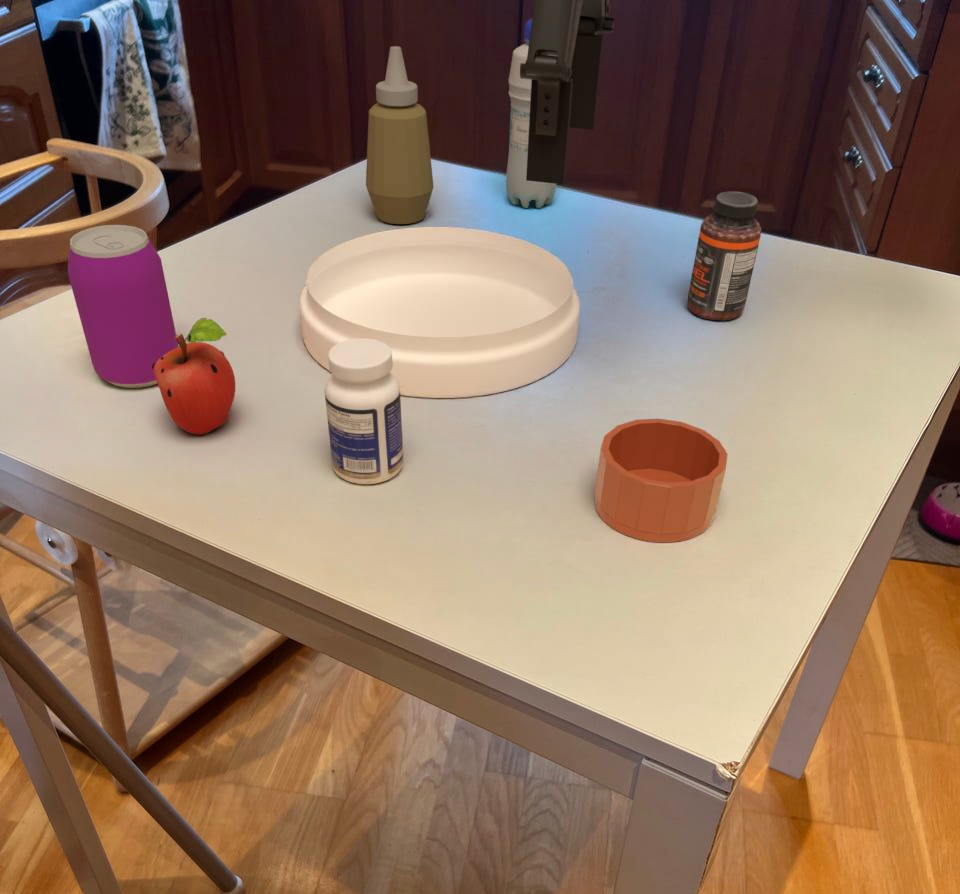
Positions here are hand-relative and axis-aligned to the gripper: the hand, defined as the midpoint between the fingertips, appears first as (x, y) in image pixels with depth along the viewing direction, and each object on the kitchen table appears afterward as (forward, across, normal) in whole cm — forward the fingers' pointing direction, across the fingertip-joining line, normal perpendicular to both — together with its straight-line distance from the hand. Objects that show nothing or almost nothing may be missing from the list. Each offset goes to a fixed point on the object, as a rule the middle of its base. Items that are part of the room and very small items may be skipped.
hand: (562, 152), depth 74 cm
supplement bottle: (+20, -21, +14) cm, 33 cm away
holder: (+20, +16, +12) cm, 28 cm away
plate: (+20, -8, -12) cm, 25 cm away
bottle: (+20, -46, -11) cm, 52 cm away
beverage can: (+20, +7, -36) cm, 42 cm away
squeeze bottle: (+20, -36, -25) cm, 49 cm away
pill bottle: (+20, +16, -11) cm, 28 cm away
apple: (+20, +14, -26) cm, 36 cm away
